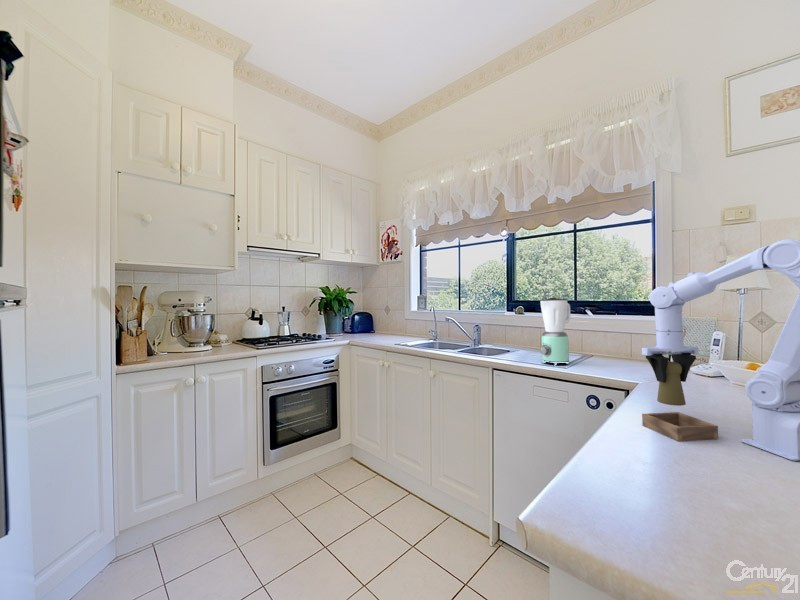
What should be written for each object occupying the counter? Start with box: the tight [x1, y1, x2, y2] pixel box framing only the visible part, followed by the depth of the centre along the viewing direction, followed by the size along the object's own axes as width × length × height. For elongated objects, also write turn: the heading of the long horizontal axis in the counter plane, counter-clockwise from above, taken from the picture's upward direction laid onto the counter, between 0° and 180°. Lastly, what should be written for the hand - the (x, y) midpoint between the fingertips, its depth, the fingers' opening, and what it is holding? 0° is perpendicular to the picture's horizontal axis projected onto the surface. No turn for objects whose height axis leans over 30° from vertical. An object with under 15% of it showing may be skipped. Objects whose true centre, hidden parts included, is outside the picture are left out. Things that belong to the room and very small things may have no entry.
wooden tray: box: [641, 411, 719, 442], centre depth 80 cm, size 10×10×3 cm
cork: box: [657, 360, 687, 407], centre depth 89 cm, size 6×6×11 cm
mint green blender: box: [539, 297, 571, 363], centre depth 175 cm, size 19×13×35 cm
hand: (671, 381), depth 89 cm, fingers closed on cork, 5 cm apart
